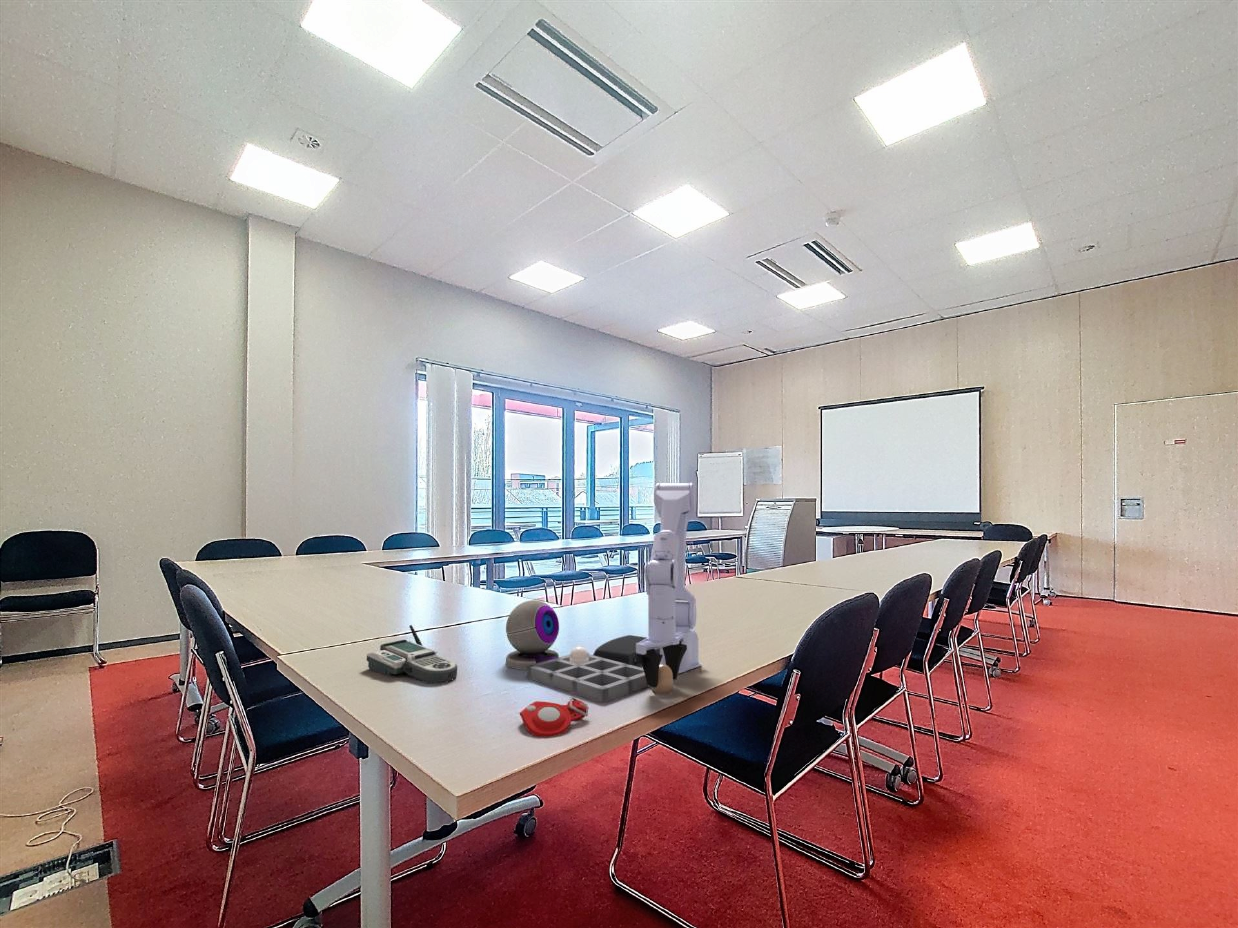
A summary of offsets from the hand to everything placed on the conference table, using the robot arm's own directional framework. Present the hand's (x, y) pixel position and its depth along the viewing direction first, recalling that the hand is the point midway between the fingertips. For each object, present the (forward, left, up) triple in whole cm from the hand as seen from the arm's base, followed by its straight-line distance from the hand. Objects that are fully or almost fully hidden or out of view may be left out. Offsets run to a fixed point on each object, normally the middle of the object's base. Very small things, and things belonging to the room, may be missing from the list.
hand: (662, 682), depth 121 cm
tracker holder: (+27, -2, -2) cm, 28 cm away
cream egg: (+2, -24, -2) cm, 24 cm away
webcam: (+5, -37, -2) cm, 37 cm away
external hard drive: (-15, -22, -2) cm, 27 cm away
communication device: (+29, -50, -2) cm, 58 cm away
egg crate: (+5, -16, -2) cm, 17 cm away
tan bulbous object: (0, 0, -2) cm, 2 cm away
